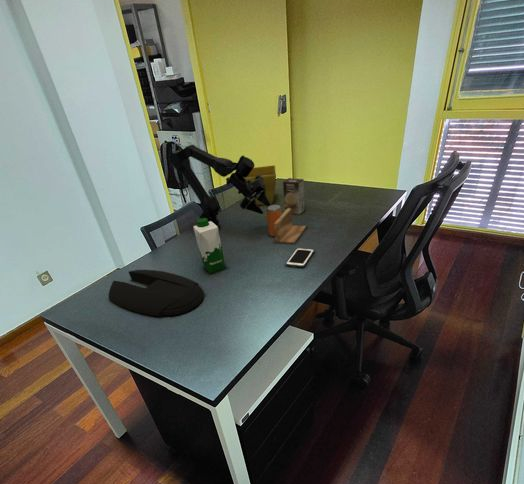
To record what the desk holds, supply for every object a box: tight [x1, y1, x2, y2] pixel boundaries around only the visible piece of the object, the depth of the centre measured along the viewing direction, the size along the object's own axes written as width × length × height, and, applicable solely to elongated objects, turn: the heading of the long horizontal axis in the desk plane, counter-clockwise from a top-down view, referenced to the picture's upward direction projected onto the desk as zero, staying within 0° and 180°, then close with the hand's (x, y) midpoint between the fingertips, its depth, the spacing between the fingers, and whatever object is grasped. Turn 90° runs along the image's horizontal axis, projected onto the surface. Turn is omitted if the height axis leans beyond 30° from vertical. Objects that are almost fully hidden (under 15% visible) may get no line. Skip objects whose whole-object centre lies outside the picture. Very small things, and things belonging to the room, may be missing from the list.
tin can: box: [265, 204, 282, 238], centre depth 154 cm, size 7×7×13 cm
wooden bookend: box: [274, 208, 307, 245], centre depth 152 cm, size 9×18×9 cm, turn 157°
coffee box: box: [282, 177, 305, 215], centre depth 172 cm, size 9×6×16 cm
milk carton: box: [192, 218, 226, 275], centre depth 132 cm, size 9×9×20 cm
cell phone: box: [285, 247, 315, 268], centre depth 136 cm, size 8×15×1 cm, turn 156°
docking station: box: [108, 269, 205, 318], centre depth 125 cm, size 25×41×5 cm, turn 58°
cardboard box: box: [244, 164, 277, 206], centre depth 191 cm, size 19×19×17 cm
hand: (266, 209), depth 152 cm, fingers open, 9 cm apart
